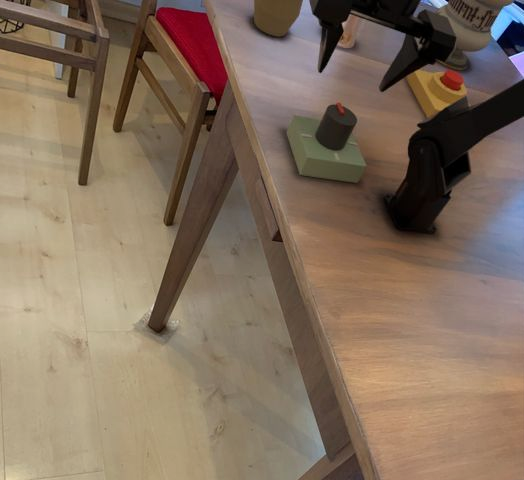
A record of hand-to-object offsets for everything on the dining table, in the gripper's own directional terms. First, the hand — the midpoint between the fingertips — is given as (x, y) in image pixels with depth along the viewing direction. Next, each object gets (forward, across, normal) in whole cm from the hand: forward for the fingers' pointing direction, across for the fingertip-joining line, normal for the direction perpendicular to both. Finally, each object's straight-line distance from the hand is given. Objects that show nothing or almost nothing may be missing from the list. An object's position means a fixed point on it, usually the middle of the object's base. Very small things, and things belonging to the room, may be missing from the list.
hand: (350, 80), depth 73 cm
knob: (+7, 0, +3) cm, 8 cm away
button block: (+10, -27, -20) cm, 35 cm away
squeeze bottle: (+12, +4, -30) cm, 33 cm away
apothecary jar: (+11, -36, -40) cm, 54 cm away
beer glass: (+11, -10, -33) cm, 37 cm away
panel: (+10, 0, +4) cm, 11 cm away
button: (+6, -27, -20) cm, 34 cm away
